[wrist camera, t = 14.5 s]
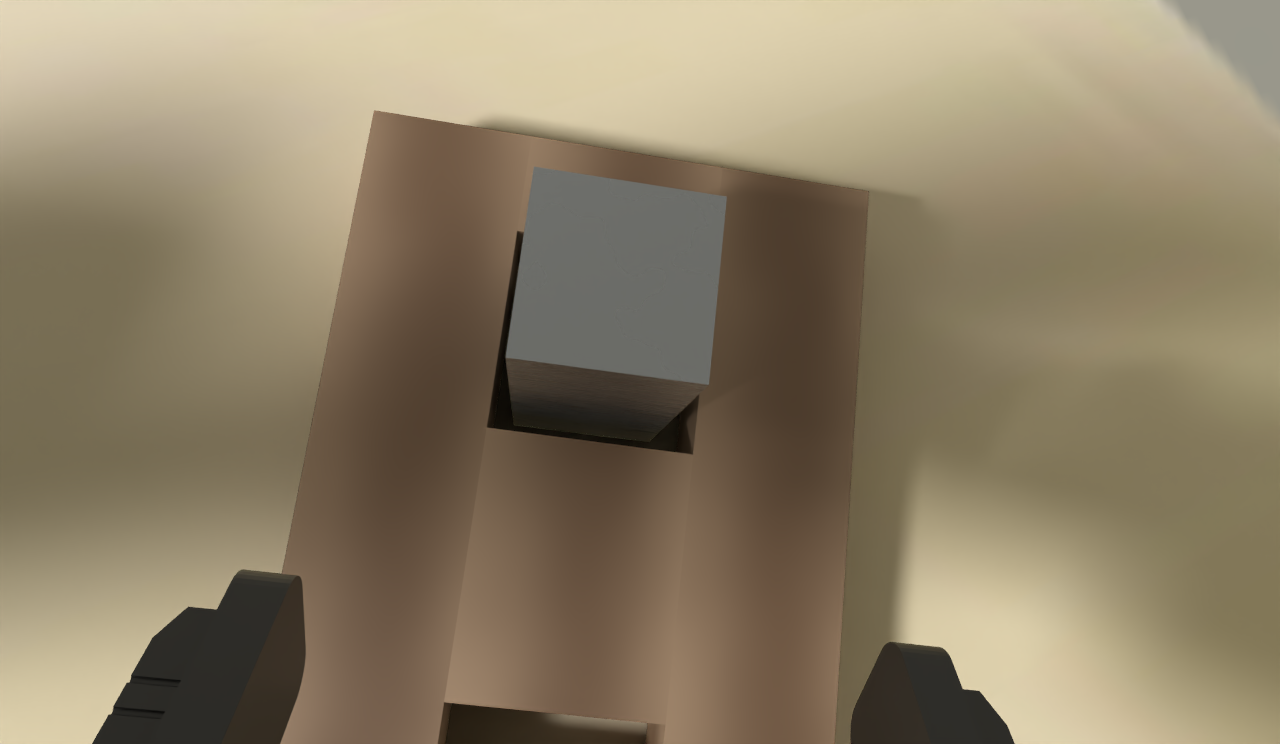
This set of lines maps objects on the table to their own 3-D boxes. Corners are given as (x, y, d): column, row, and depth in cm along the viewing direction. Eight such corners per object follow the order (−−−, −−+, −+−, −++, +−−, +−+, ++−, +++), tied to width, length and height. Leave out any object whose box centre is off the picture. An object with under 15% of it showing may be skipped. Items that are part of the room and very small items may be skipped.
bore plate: (244, 919, 22) (202, 973, 19) (390, 158, 27) (374, 110, 24) (781, 960, 24) (817, 1017, 21) (833, 229, 28) (868, 191, 25)
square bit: (513, 425, 26) (505, 357, 17) (532, 294, 27) (533, 166, 18) (648, 442, 26) (709, 384, 17) (662, 313, 27) (727, 196, 18)
